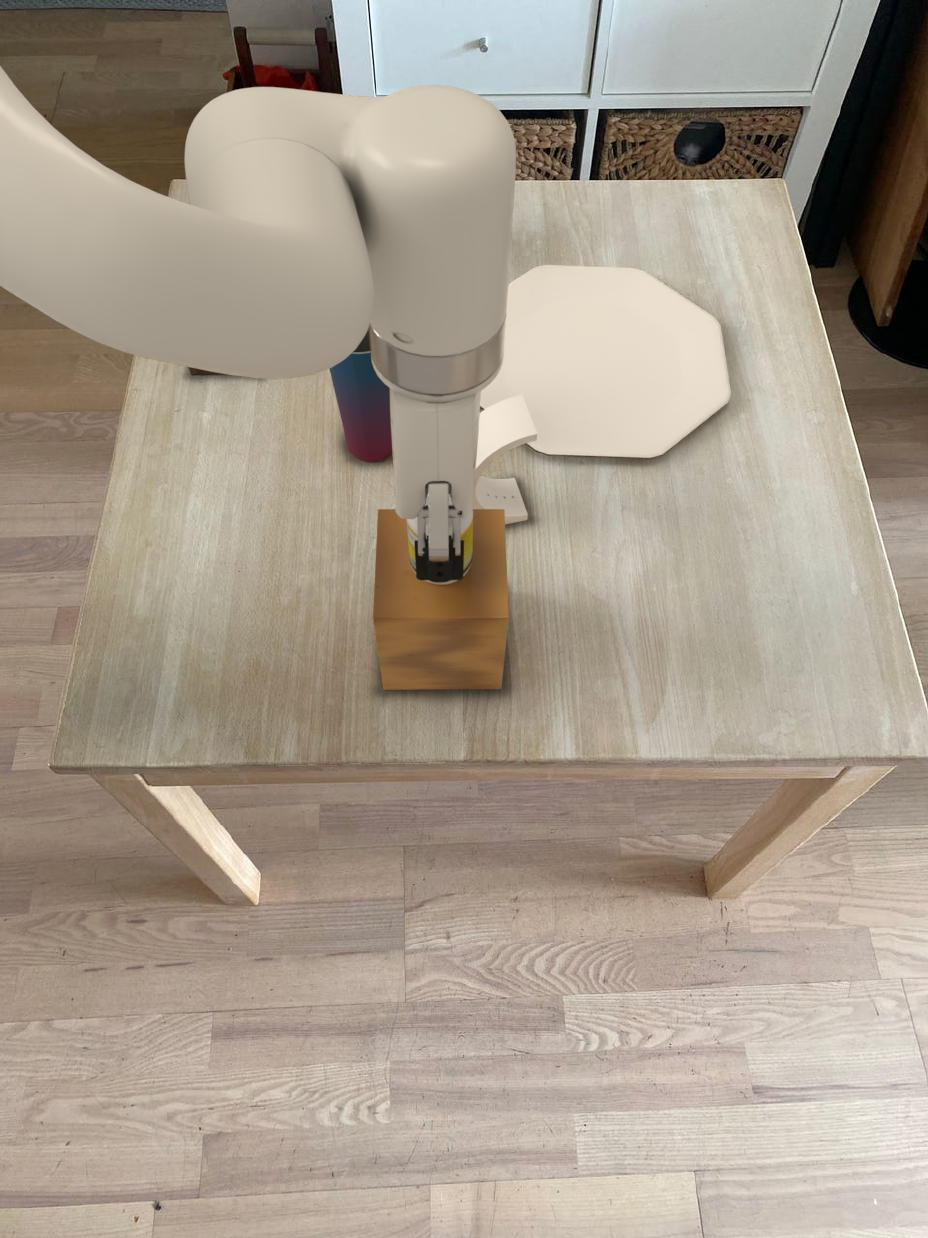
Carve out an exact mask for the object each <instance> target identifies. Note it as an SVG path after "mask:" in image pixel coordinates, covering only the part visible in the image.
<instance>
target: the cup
mask: <svg viewBox="0 0 928 1238" xmlns="http://www.w3.org/2000/svg"><path fill="white" fill-rule="evenodd" d="M329 373H330V378H331V382H332V385H333V391H334V394H335V398H336V403H337V407H338V411H339V416H340V419H341V423H342V424H341V425H342V428H343V433H344V436H345V437H344V438H345V442H346V446H347V448H348V451H349V452H350V454H351V455H352V456H353V457H354V458H356V459H357V460H360V461H362V462H367V463H376V462H381V461H384V460H386V459H388V458H390V457H391V456H393V452H392V436H391V418H390V388H389V387H388V386H387V385H385V384H384V383H383V381H382V380H381V379H380V378H379V377H378V375H377V374H376V372H375V370H374V368H373V365H372V360H371V351H370V341H369V330H367V333H366V335H365V336H364V338H363V339H362V341H361V342H360V344H359V345H358V347H357V348H356V349H355V350H354V351H353V352H352V353H351V354H350V355H349V356H348V357H347V358H346V359H344V360H343V361H342V362H340V363H338V364H337V365H335V366H333V367H332V368H330V369H329Z"/></svg>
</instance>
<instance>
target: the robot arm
mask: <svg viewBox="0 0 928 1238" xmlns="http://www.w3.org/2000/svg"><path fill="white" fill-rule="evenodd" d="M183 160H184V173H185V182H186V191H187V198H188V199H187V200H188V203H187V202H183V201H181V200H178V199H176V198H173V197H170V196H167V195H164V194H162V193H158V192H157V191H154V190H152V189H150V188H148V187H145V186H143V185H142V184H139V183H136V182H135V181H133V180H130V179H129V178H126V177H125V176H124V175H121V174H120V173H118V172H116V171H114V170H112V169H111V168H109V167H107V166H106V165H104V164H102V163H101V162H99V161H98V160H96V158H94V157H93V156H91V155H89V154H88V153H87V152H85V151H84V150H82V149H81V148H79V147H78V146H76V144H74V143H73V142H72V141H71V140H70V139H68V137H66V136H65V135H64V134H62V133H61V132H60V131H59V130H58V129H56V128H55V127H54V126H53V125H52V124H51V123H50V122H49V121H48V120H47V119H46V118H45V117H44V116H43V115H42V114H41V113H40V112H39V111H38V110H37V109H36V108H35V107H34V106H33V105H32V104H31V103H30V101H29V100H28V99H27V98H26V97H25V96H24V95H23V93H22V92H21V91H20V90H19V88H17V86H16V85H15V84H14V82H13V80H12V79H11V78H10V77H9V75H8V74H7V73H6V72H5V70H4V69H3V67H2V66H1V65H0V287H1V288H3V290H4V289H5V290H6V291H7V292H9V293H11V294H12V295H14V296H15V297H17V298H18V299H20V300H22V301H23V302H25V303H26V304H28V305H30V306H32V307H33V308H35V309H36V310H38V311H39V312H41V313H43V314H44V315H46V316H48V317H49V318H51V319H52V320H54V321H55V322H58V323H59V324H61V325H62V326H64V327H66V328H68V329H70V330H72V331H74V332H75V333H76V334H77V333H78V334H80V335H82V336H84V337H86V338H87V339H90V340H92V341H93V342H96V343H98V344H100V345H103V346H106V347H108V348H112V349H114V350H117V351H119V352H122V353H125V354H129V355H133V356H136V357H139V358H144V359H147V360H153V361H157V362H160V363H161V362H162V363H167V364H172V365H178V366H182V367H187V368H189V367H191V368H196V369H201V370H206V371H211V372H216V373H222V374H228V375H229V376H234V377H244V378H253V379H264V380H266V379H267V380H281V379H286V380H287V379H298V378H303V377H308V376H313V375H315V374H319V373H322V372H324V371H327V370H330V368H332V367H333V366H335V365H337V364H338V363H340V362H342V361H343V360H344V359H346V358H347V357H348V356H349V355H350V354H351V353H352V352H353V351H354V350H355V349H356V348H357V347H358V345H359V344H360V342H361V341H362V339H363V338H364V336H365V335H366V333H367V330H369V341H370V351H371V360H372V365H373V368H374V370H375V372H376V374H377V375H378V377H379V378H380V379H381V380H382V381H383V383H384V384H385V385H387V386H388V387H389V388H390V418H391V436H392V452H393V454H392V466H393V468H392V469H393V485H394V486H393V487H394V509H395V512H396V513H397V514H398V516H399V517H400V518H402V519H415V518H416V517H417V524H418V540H415V563H416V578H417V579H418V580H429V581H431V582H437V583H442V582H448V581H450V580H461V579H462V578H463V569H464V540H461V515H462V518H464V517H466V516H467V515H468V514H469V513H470V511H471V506H472V498H473V489H474V480H475V469H476V459H477V447H478V435H479V418H480V412H481V408H480V400H481V390H483V389H484V388H485V387H487V386H488V385H489V384H490V383H491V382H492V381H493V380H494V379H495V378H496V376H497V375H498V373H499V371H500V369H501V366H502V363H503V356H504V341H505V326H506V311H507V296H508V284H509V281H510V280H509V278H510V267H511V266H510V265H511V252H512V251H511V250H512V235H513V219H514V205H515V203H514V202H515V189H516V177H517V146H516V140H515V136H514V133H513V130H512V128H511V125H510V123H509V121H508V120H507V118H506V116H504V114H503V113H502V112H501V110H500V109H499V108H498V107H497V106H496V105H495V104H494V103H492V102H491V101H489V100H488V99H486V98H484V97H483V96H481V95H479V94H477V93H475V92H472V91H470V90H467V89H464V88H461V87H456V86H452V85H451V86H450V85H438V84H428V85H427V84H426V85H424V84H423V85H418V86H411V87H407V88H403V89H400V90H397V91H395V92H392V93H389V94H388V95H385V96H365V95H364V96H363V95H352V94H343V93H342V94H341V93H333V92H322V91H316V90H315V91H314V90H307V89H300V88H299V89H297V88H289V87H275V86H252V87H244V88H239V89H234V90H231V91H228V92H225V93H222V94H220V95H218V96H217V97H215V98H213V99H212V100H210V101H208V103H206V104H205V105H204V106H203V107H202V108H201V109H200V111H198V113H197V114H196V116H195V117H194V118H193V120H192V122H191V125H190V127H189V128H188V132H187V135H186V140H185V144H184V159H183ZM427 494H428V505H425V503H426V497H427ZM448 494H450V497H451V502H452V504H453V505H448ZM426 518H429V535H427V539H426ZM449 518H452V535H449Z"/></svg>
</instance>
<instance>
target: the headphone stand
mask: <svg viewBox="0 0 928 1238" xmlns="http://www.w3.org/2000/svg"><path fill="white" fill-rule="evenodd" d="M533 441H537V432H536V429H535V427H534V424H533V421H532V419H531V416H530V414H529V411H528V408H527V406H526V403H525V401H524V398H523V395H518V396H514V397H511V398H508V399H505V400H502V401H500V402H498V403H495V404H493V405H492V406H490V407H488V408H486V409H485V410H483V409H482V410H481V411H480V418H479V435H478V447H477V459H476V469H475V480H474V489H473V498H472V509H504V512H505V525H509V524H514V523H519V522H524V521H528V517H529V514H528V511H527V509H526V506H525V503H524V499H523V497H522V494H521V491H520V488H519V486H518V482H517V480H516V477H509V478H493V477H492V478H491V477H487V476H483V475H482V474H483V473H484V471H485V470H486V469H487V468H488V467H489V466H490V465H491V464H492V463H493V462H494V461H495V460H496V459H498V458H499V457H500V456H503V454H505V453H507V452H509V451H511V450H513V449H515V448H517V447H519V446H522V445H526V444H525V443H529V442H533Z"/></svg>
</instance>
